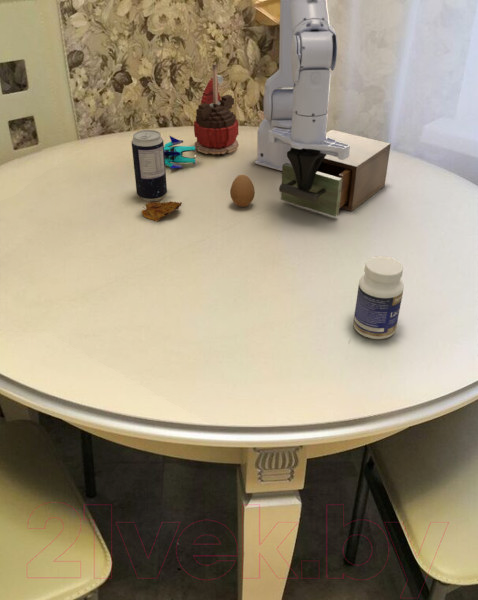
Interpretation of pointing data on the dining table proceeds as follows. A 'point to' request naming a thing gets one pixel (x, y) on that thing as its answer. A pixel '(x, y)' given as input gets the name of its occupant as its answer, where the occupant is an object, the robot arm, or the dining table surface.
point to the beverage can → (149, 165)
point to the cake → (215, 120)
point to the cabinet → (361, 165)
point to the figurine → (177, 153)
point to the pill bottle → (379, 298)
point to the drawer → (318, 188)
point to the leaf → (159, 209)
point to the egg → (242, 191)
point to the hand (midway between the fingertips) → (305, 189)
